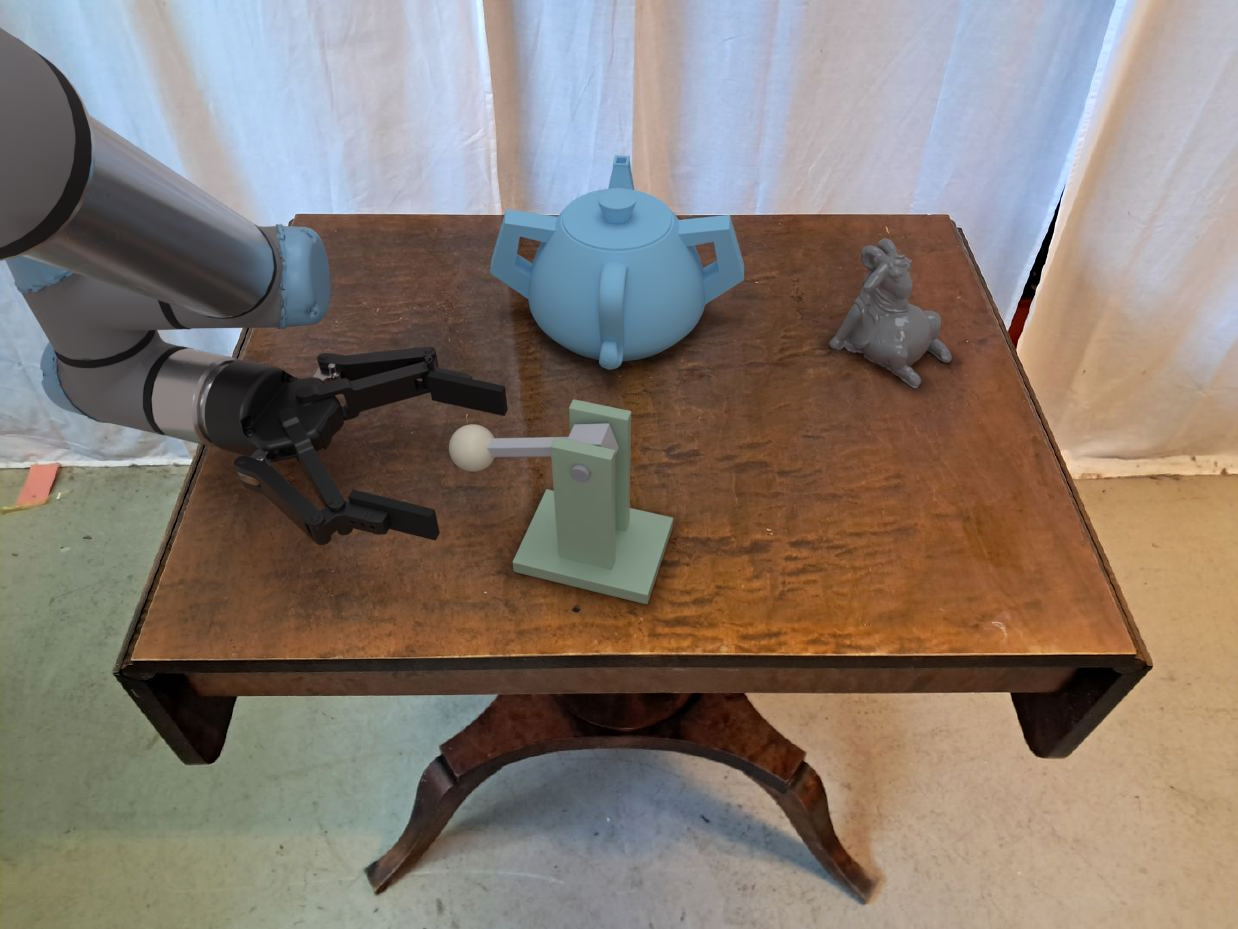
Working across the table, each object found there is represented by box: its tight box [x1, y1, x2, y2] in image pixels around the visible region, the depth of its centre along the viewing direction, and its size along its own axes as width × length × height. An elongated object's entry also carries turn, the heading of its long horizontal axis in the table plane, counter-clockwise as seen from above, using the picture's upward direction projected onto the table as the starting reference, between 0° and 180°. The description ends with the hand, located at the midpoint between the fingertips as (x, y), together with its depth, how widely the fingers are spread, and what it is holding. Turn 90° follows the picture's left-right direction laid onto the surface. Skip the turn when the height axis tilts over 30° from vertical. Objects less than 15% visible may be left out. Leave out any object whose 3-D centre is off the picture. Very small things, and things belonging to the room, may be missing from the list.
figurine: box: [828, 237, 953, 389], centre depth 89 cm, size 8×10×11 cm
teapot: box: [489, 154, 745, 371], centre depth 92 cm, size 19×19×14 cm
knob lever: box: [448, 423, 619, 473], centre depth 70 cm, size 13×4×4 cm, turn 74°
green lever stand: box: [512, 398, 674, 605], centre depth 71 cm, size 11×8×14 cm
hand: (472, 459), depth 72 cm, fingers open, 13 cm apart
